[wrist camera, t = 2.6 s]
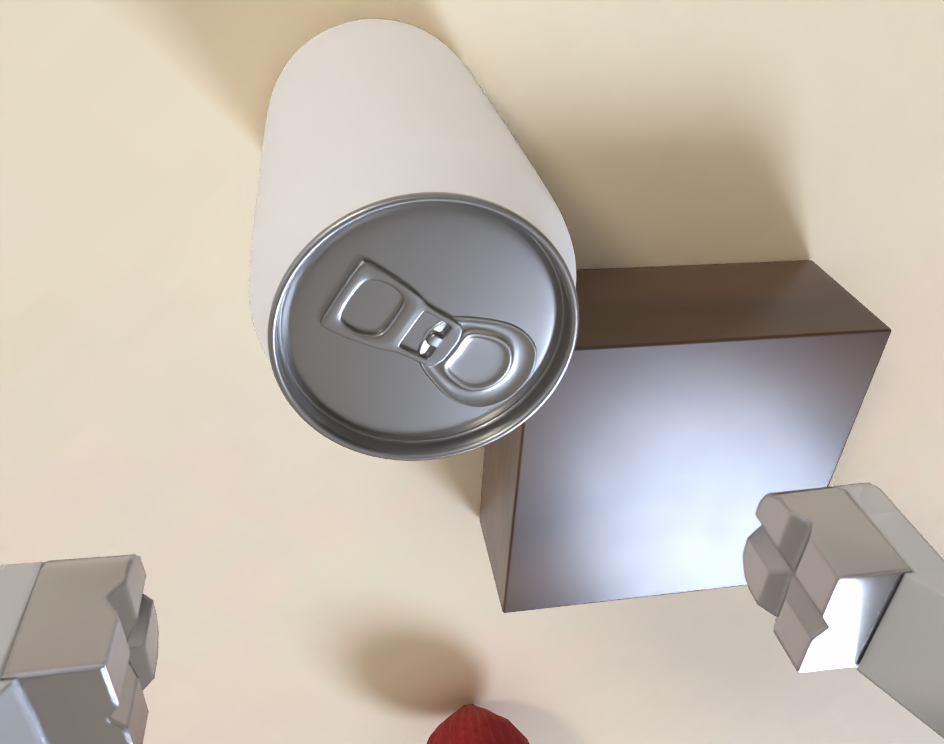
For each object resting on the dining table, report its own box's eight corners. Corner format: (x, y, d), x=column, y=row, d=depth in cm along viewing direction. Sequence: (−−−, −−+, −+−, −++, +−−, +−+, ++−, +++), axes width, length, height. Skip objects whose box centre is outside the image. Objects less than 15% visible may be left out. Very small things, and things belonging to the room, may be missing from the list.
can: (408, 262, 26) (469, 517, 17) (227, 162, 24) (175, 402, 14) (524, 97, 24) (673, 286, 14) (338, -37, 21) (368, 86, 11)
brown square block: (496, 272, 27) (529, 350, 23) (812, 259, 29) (893, 329, 25) (479, 520, 34) (502, 614, 30) (736, 495, 36) (790, 581, 32)
